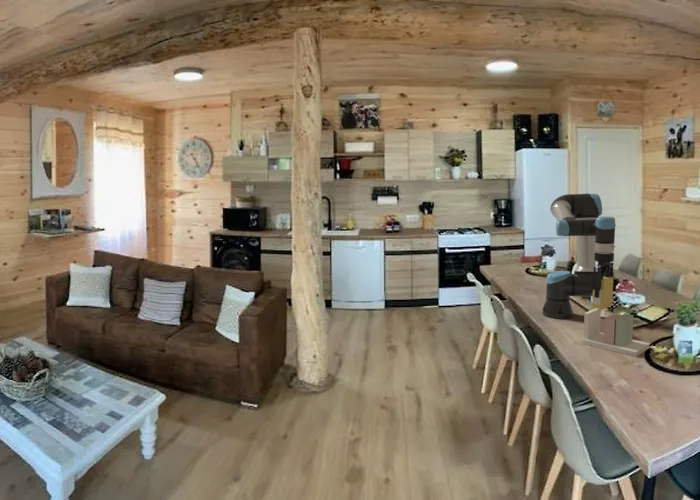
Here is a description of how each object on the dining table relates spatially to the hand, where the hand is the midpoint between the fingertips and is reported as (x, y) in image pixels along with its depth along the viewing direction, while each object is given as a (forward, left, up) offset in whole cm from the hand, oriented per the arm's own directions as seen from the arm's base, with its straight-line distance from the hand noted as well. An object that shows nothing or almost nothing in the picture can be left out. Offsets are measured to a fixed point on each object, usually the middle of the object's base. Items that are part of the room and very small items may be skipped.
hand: (602, 302), depth 210 cm
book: (0, 0, -2) cm, 2 cm away
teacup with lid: (-4, +15, -19) cm, 25 cm away
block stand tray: (+6, 0, -19) cm, 20 cm away
